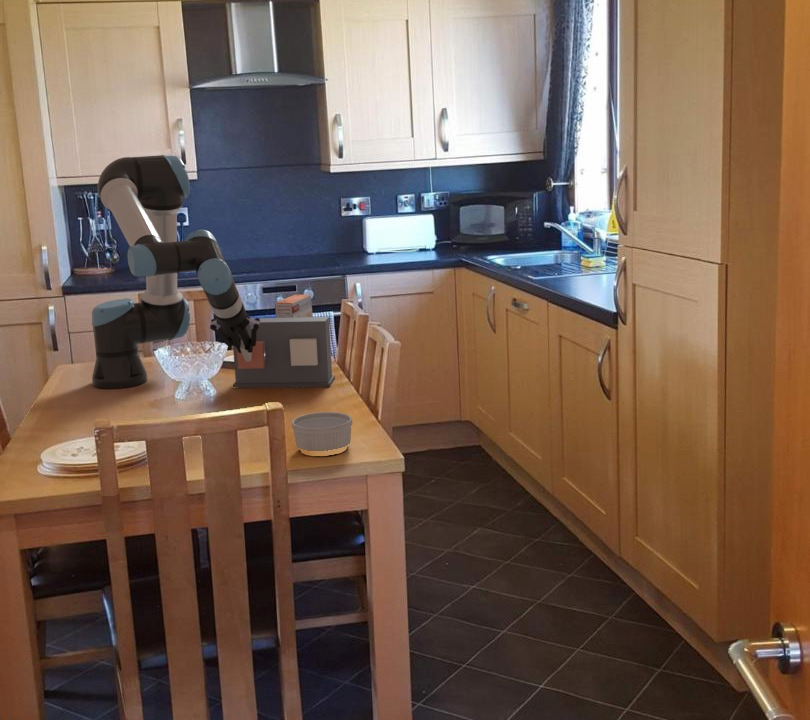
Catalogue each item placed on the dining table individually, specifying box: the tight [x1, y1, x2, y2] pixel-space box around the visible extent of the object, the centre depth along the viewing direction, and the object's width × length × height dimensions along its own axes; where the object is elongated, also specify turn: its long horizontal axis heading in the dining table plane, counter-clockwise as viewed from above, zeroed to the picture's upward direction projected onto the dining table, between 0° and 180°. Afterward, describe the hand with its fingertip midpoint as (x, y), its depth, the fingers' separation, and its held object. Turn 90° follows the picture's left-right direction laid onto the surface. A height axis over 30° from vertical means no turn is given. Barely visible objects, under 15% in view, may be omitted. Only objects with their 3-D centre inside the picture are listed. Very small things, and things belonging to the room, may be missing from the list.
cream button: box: [290, 338, 318, 366], centre depth 276 cm, size 10×7×7 cm, turn 175°
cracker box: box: [274, 293, 313, 318], centre depth 295 cm, size 14×6×21 cm, turn 162°
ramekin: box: [291, 411, 353, 451], centre depth 220 cm, size 13×13×7 cm
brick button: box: [236, 341, 265, 369], centre depth 275 cm, size 10×7×7 cm, turn 175°
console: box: [232, 316, 336, 389], centre depth 278 cm, size 9×27×18 cm, turn 85°
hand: (248, 357), depth 269 cm, fingers closed
